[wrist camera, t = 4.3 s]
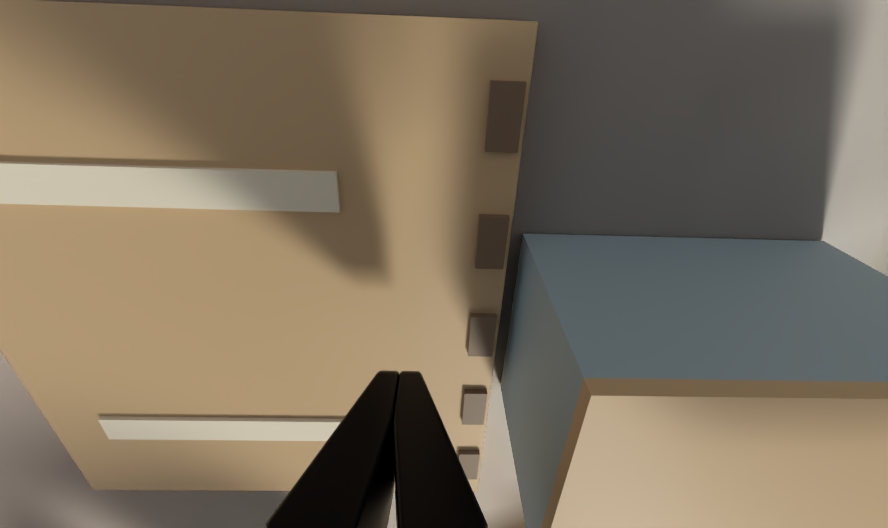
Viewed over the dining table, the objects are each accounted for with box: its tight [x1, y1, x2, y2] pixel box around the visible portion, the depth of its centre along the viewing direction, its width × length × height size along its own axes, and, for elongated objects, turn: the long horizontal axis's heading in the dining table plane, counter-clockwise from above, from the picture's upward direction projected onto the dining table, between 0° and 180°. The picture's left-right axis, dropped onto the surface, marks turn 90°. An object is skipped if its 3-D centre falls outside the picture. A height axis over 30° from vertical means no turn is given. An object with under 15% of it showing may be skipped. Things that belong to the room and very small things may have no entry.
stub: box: [501, 234, 888, 528], centre depth 9 cm, size 7×5×5 cm
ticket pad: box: [0, 0, 538, 492], centre depth 10 cm, size 12×13×1 cm
